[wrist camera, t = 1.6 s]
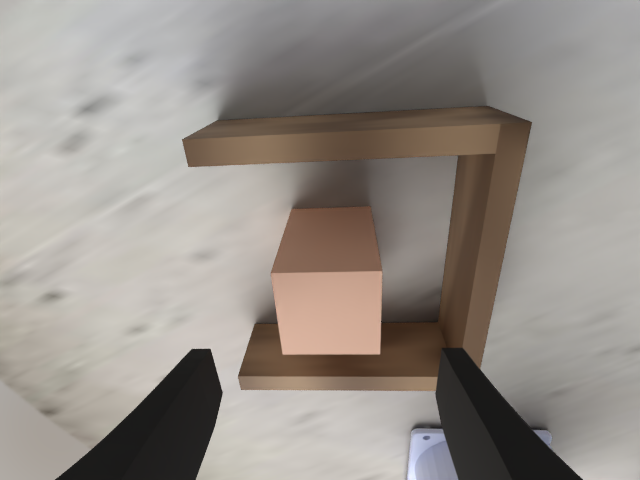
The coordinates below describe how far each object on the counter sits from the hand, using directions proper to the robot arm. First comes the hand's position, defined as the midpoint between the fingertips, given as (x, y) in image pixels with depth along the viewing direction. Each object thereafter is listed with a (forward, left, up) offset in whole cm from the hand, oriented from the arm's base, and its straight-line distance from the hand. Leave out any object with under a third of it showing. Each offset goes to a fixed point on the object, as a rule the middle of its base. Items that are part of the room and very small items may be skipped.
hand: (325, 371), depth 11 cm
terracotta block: (0, 0, -9) cm, 9 cm away
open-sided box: (0, 0, -9) cm, 9 cm away
